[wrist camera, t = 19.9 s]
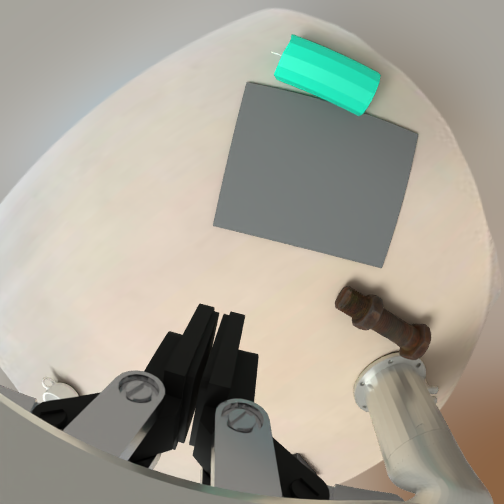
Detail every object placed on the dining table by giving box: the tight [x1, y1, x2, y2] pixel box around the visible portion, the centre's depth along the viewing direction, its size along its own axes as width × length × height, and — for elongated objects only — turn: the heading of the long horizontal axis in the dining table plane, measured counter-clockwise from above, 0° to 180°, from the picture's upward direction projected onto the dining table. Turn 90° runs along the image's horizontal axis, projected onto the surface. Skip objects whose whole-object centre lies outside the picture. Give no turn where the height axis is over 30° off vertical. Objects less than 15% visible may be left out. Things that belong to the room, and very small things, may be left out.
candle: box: [271, 34, 381, 116], centre depth 29 cm, size 6×6×12 cm
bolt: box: [335, 287, 431, 360], centre depth 37 cm, size 6×5×15 cm
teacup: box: [42, 377, 79, 402], centre depth 46 cm, size 10×8×5 cm
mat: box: [213, 82, 418, 268], centre depth 34 cm, size 22×18×1 cm
